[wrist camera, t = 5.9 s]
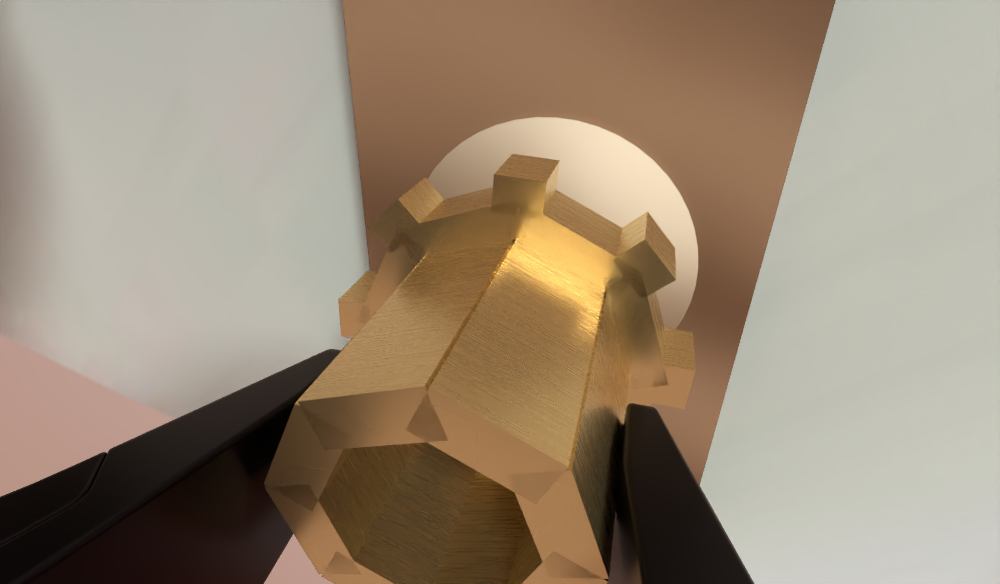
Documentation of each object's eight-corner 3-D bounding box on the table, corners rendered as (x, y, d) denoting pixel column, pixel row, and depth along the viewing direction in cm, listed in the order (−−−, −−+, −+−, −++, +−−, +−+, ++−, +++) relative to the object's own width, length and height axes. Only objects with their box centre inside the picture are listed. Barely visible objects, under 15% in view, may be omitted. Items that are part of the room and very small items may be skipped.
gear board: (674, 533, 18) (674, 734, 14) (411, 474, 20) (331, 632, 15) (885, -268, 9) (1141, -548, 4) (356, -239, 11) (104, -406, 6)
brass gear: (435, 449, 13) (326, 669, 9) (324, 204, 11) (104, 347, 7) (712, 429, 11) (741, 708, 7) (647, 117, 9) (626, 245, 4)
